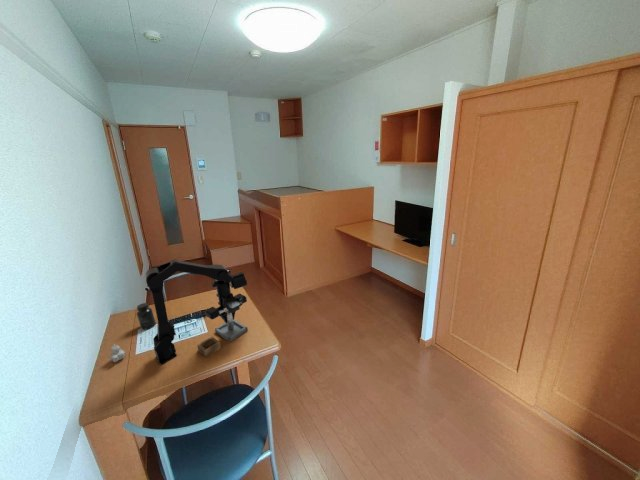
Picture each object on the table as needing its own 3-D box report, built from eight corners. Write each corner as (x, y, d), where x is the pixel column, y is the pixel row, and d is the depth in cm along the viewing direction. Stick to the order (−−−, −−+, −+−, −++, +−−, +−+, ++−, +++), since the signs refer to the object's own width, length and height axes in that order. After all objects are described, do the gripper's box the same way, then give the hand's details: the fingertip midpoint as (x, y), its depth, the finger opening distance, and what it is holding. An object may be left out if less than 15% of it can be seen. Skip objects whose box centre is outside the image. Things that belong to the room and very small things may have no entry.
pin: (230, 331, 130) (226, 313, 127) (226, 328, 132) (222, 310, 129) (235, 328, 132) (232, 309, 129) (232, 325, 134) (228, 307, 131)
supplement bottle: (159, 321, 145) (153, 301, 141) (150, 330, 138) (144, 309, 134) (146, 321, 145) (140, 301, 141) (137, 329, 139) (131, 309, 135)
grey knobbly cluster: (128, 353, 123) (123, 338, 120) (123, 363, 117) (117, 347, 114) (114, 356, 121) (108, 341, 119) (108, 367, 115) (102, 351, 113)
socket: (206, 357, 117) (204, 351, 116) (198, 350, 122) (196, 344, 121) (221, 348, 122) (220, 342, 121) (212, 341, 127) (211, 336, 126)
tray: (229, 342, 126) (228, 338, 125) (215, 332, 133) (214, 328, 133) (247, 330, 133) (247, 327, 132) (233, 322, 140) (232, 318, 140)
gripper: (214, 306, 114) (221, 338, 119) (251, 288, 128) (256, 317, 133) (201, 298, 121) (207, 328, 126) (237, 282, 135) (242, 310, 140)
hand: (229, 321), depth 131 cm, fingers closed on pin, 3 cm apart
